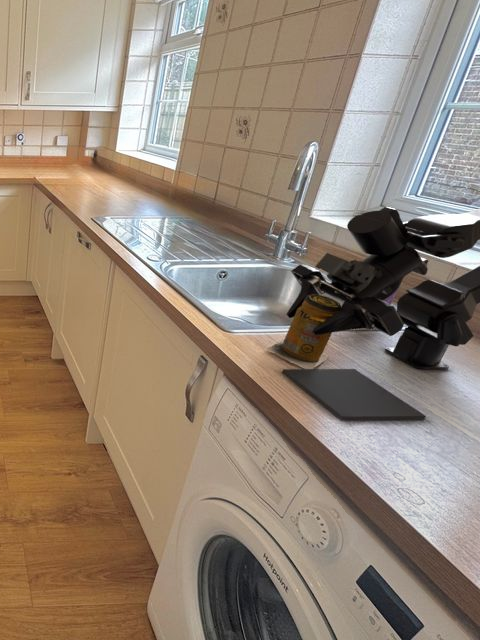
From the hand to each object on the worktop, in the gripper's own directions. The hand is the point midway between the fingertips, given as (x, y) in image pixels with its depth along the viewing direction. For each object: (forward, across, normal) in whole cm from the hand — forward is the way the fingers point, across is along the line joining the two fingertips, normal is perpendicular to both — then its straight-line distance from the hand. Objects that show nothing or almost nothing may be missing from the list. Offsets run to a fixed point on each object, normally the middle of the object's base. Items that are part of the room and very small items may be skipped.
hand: (300, 324), depth 77 cm
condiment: (+4, 0, +6) cm, 7 cm away
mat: (+4, +11, +6) cm, 13 cm away
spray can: (-16, -14, +27) cm, 34 cm away
